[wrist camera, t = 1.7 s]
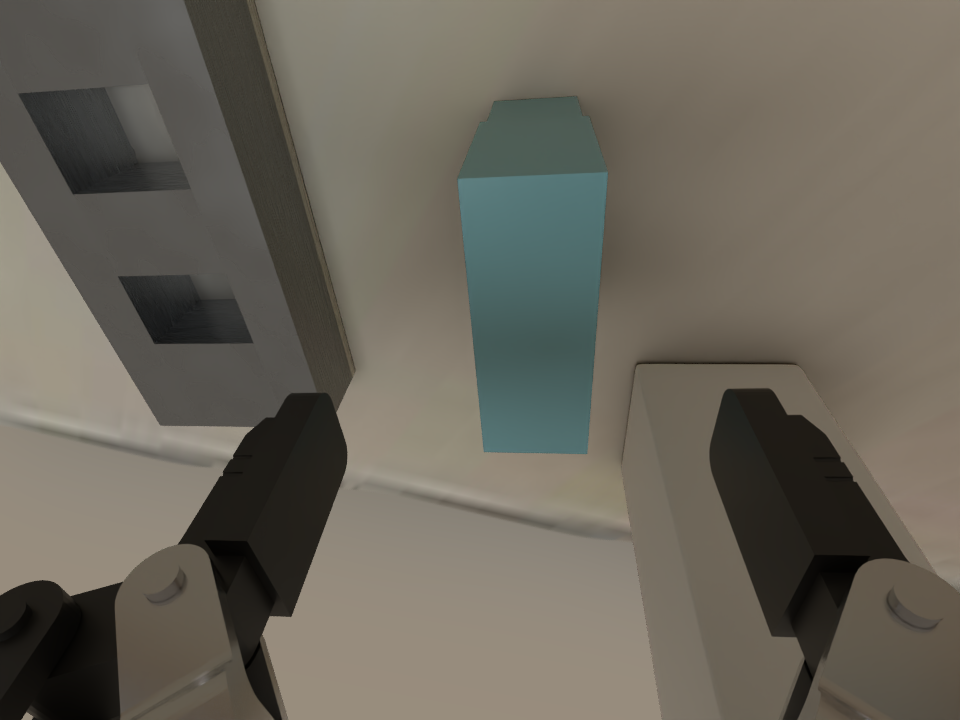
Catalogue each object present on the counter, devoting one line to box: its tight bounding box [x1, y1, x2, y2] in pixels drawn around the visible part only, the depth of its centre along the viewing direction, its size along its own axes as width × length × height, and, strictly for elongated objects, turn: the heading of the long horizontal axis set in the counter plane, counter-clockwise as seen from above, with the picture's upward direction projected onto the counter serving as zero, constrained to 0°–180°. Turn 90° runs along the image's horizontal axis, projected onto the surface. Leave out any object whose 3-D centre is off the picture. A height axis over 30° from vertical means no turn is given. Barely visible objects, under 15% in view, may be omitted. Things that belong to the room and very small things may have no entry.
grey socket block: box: [0, 0, 355, 427], centre depth 19 cm, size 18×8×4 cm, turn 4°
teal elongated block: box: [457, 96, 608, 454], centre depth 16 cm, size 8×3×9 cm, turn 4°
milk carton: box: [621, 364, 938, 720], centre depth 18 cm, size 7×7×19 cm
